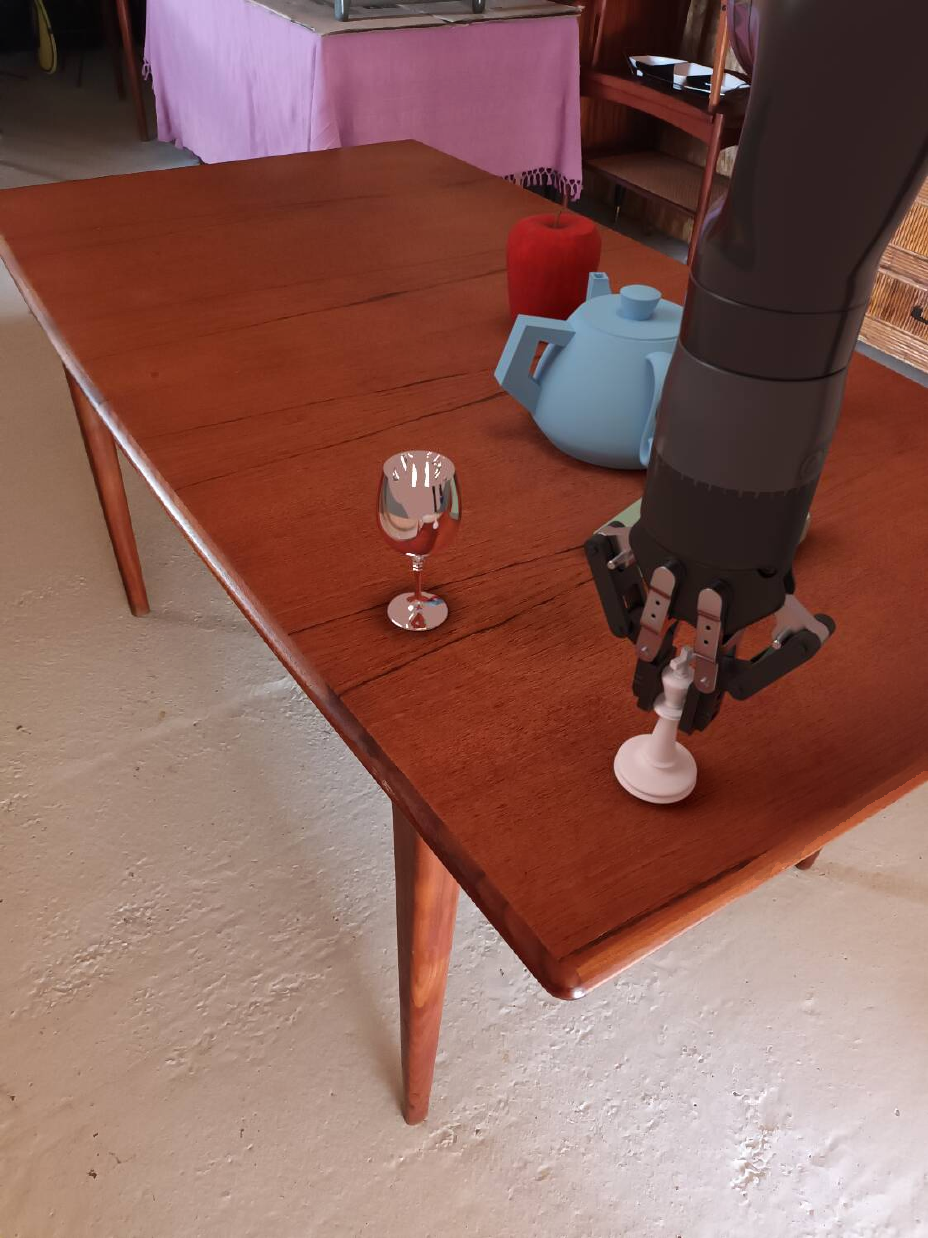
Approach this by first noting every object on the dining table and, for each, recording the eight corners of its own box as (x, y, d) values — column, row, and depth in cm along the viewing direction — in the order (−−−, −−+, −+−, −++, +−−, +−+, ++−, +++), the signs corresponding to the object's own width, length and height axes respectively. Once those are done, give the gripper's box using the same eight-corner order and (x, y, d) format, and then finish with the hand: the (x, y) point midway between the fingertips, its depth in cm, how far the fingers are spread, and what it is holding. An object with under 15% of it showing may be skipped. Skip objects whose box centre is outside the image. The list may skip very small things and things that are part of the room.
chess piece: (713, 780, 55) (754, 658, 49) (653, 817, 53) (687, 693, 46) (656, 729, 58) (687, 607, 52) (596, 761, 56) (622, 638, 49)
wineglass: (420, 577, 70) (421, 437, 63) (473, 613, 67) (482, 470, 60) (361, 609, 67) (356, 465, 59) (414, 648, 64) (416, 502, 56)
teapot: (747, 428, 91) (783, 288, 82) (652, 509, 79) (682, 356, 70) (582, 371, 100) (599, 239, 91) (475, 436, 88) (482, 292, 79)
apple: (561, 308, 113) (574, 190, 104) (607, 340, 106) (625, 217, 97) (485, 320, 109) (492, 199, 100) (527, 355, 102) (539, 227, 93)
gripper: (923, 464, 40) (813, 737, 51) (650, 368, 47) (605, 628, 58) (855, 537, 35) (751, 819, 47) (564, 419, 42) (533, 690, 53)
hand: (670, 712), depth 52 cm, fingers closed on chess piece
